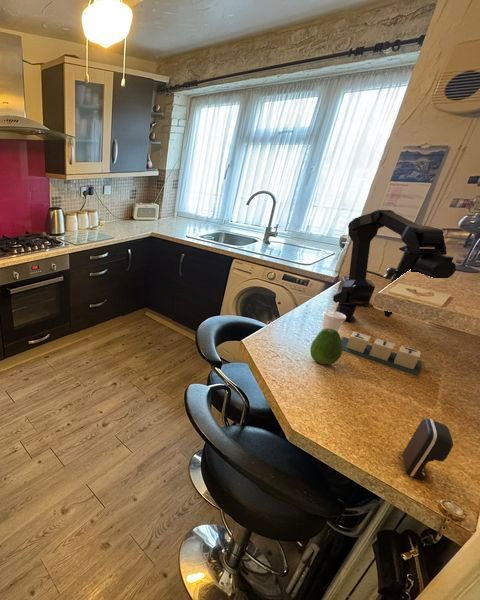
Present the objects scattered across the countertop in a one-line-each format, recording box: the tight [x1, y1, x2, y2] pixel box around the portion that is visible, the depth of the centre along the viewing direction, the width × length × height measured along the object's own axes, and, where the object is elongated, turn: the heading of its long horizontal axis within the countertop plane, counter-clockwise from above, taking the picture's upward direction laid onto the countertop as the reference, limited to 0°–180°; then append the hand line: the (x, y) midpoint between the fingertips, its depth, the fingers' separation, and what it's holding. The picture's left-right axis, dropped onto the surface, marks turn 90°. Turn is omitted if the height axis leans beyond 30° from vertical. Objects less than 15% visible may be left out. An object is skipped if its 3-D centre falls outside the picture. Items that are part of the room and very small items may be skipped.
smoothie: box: [320, 302, 346, 333], centre depth 111 cm, size 6×6×14 cm
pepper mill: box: [335, 267, 397, 308], centre depth 138 cm, size 16×11×18 cm
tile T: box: [394, 345, 422, 369], centre depth 99 cm, size 4×4×5 cm
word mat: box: [341, 336, 422, 377], centre depth 104 cm, size 11×20×1 cm, turn 42°
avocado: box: [310, 328, 343, 365], centre depth 99 cm, size 8×8×12 cm
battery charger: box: [402, 417, 454, 480], centre depth 65 cm, size 7×4×11 cm, turn 142°
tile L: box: [347, 331, 371, 353], centre depth 107 cm, size 4×4×5 cm
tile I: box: [369, 338, 395, 361], centre depth 103 cm, size 4×4×5 cm
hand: (389, 312), depth 107 cm, fingers open, 9 cm apart
